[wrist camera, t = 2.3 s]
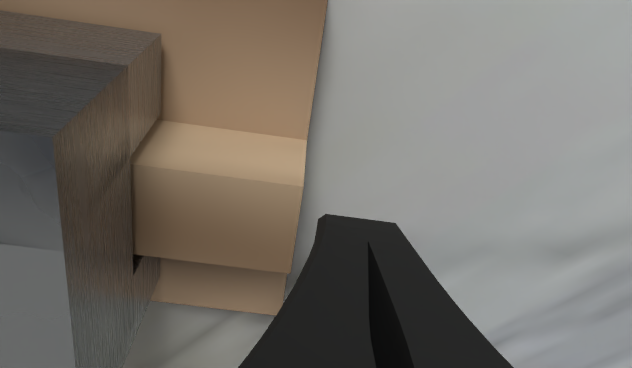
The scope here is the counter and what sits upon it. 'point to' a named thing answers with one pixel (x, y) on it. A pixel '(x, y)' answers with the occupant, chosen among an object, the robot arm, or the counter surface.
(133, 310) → the keeper
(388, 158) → the counter surface
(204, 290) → the rail board
